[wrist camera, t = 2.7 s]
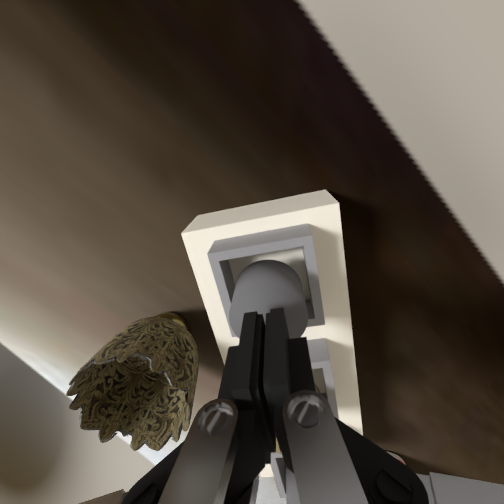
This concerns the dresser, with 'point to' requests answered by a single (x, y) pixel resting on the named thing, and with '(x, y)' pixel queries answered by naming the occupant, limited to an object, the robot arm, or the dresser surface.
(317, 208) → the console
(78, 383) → the olive hollow bell-shaped piece
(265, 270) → the button
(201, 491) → the robot arm
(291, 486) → the button
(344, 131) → the dresser surface
